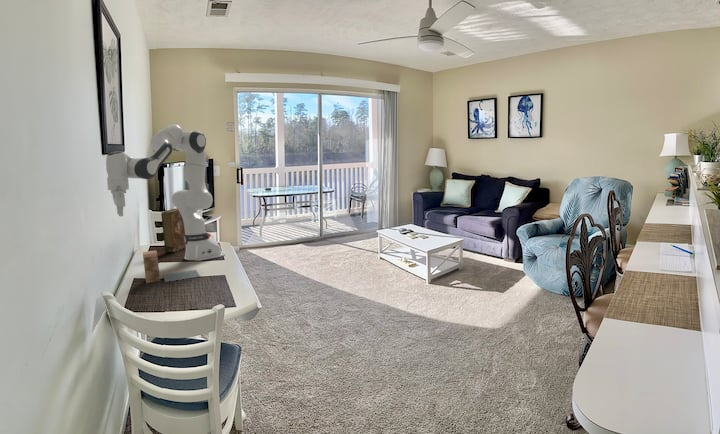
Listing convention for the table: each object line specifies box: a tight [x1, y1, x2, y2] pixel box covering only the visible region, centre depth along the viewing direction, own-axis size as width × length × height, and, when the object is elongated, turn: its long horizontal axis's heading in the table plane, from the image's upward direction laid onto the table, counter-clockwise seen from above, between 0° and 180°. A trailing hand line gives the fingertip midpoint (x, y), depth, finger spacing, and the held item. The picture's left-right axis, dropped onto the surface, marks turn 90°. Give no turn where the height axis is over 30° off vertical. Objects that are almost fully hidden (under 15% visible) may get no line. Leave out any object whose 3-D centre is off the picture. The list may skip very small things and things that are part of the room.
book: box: [160, 208, 186, 253], centre depth 288 cm, size 16×6×25 cm, turn 168°
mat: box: [162, 269, 201, 283], centre depth 231 cm, size 16×14×1 cm
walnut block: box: [142, 250, 161, 284], centre depth 224 cm, size 6×6×14 cm
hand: (120, 215), depth 221 cm, fingers open, 8 cm apart
